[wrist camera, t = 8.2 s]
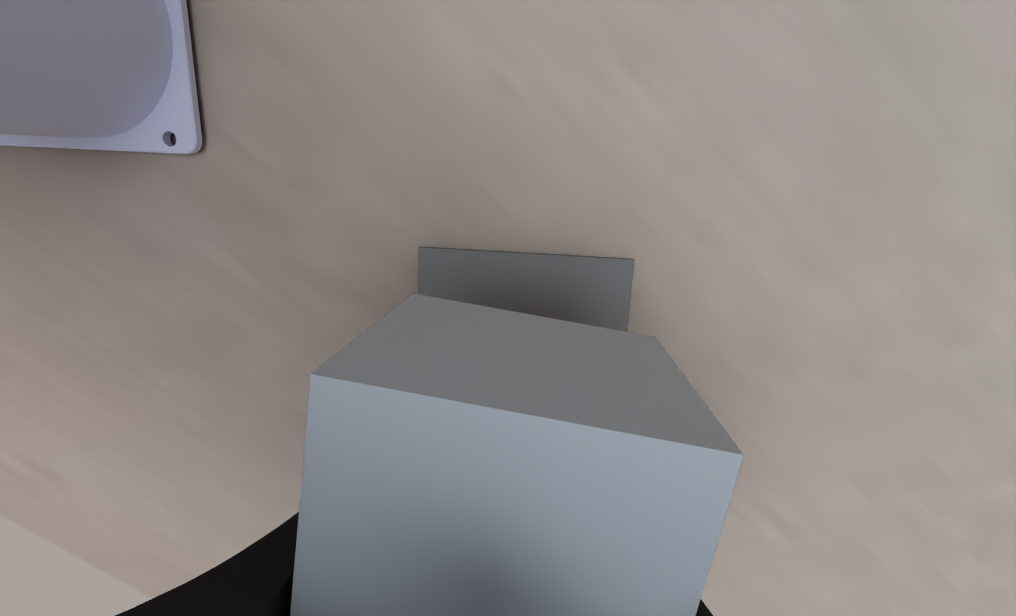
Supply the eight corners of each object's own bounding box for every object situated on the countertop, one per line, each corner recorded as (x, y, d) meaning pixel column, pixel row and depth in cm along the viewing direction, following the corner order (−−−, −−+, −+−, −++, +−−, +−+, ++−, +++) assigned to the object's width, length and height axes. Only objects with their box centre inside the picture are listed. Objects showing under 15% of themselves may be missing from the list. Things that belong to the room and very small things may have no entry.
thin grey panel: (420, 476, 23) (419, 479, 22) (419, 246, 20) (418, 247, 20) (607, 492, 22) (607, 495, 22) (633, 259, 19) (634, 259, 19)
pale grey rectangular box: (373, 606, 14) (269, 858, 9) (413, 293, 12) (310, 374, 7) (579, 648, 14) (601, 929, 9) (655, 336, 12) (744, 455, 7)
